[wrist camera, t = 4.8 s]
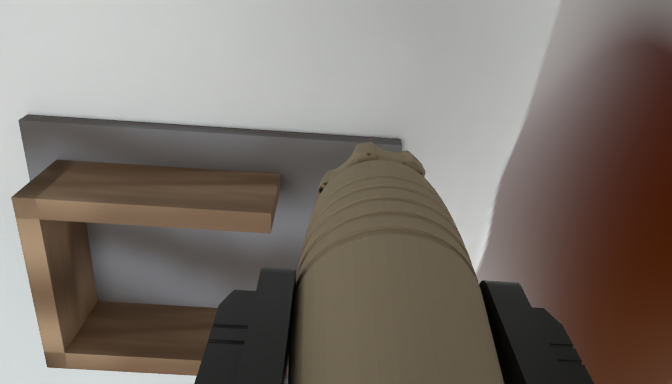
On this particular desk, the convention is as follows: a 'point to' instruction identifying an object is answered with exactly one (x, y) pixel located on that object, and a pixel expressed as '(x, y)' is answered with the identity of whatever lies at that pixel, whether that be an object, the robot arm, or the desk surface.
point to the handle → (386, 283)
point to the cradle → (158, 230)
